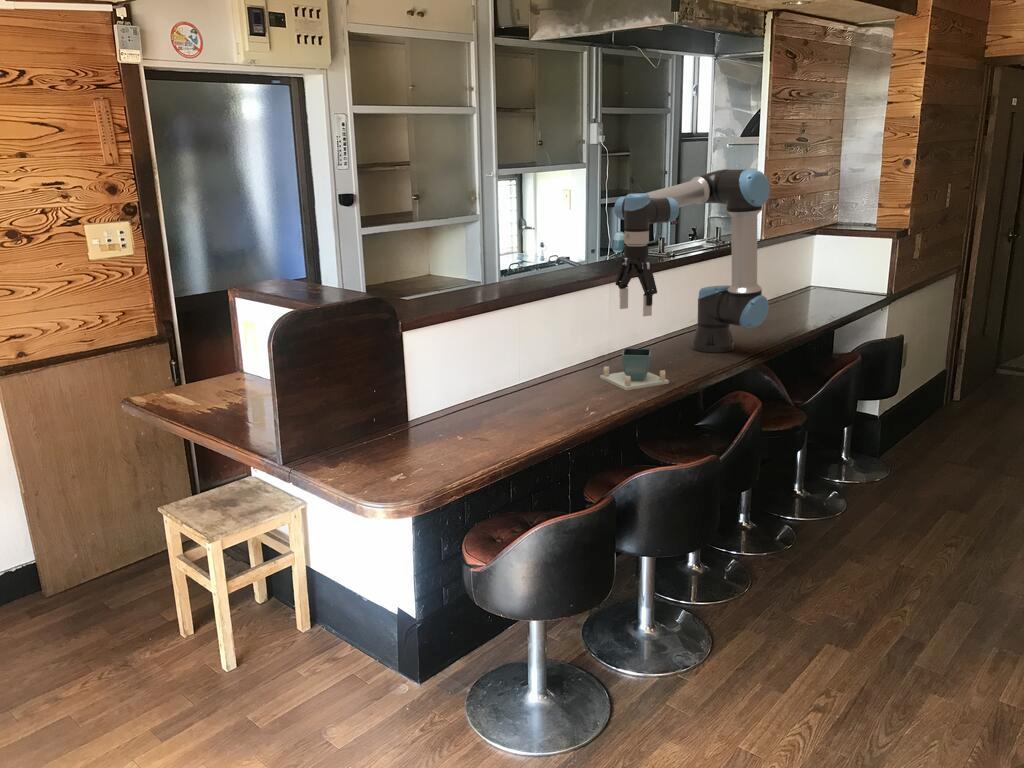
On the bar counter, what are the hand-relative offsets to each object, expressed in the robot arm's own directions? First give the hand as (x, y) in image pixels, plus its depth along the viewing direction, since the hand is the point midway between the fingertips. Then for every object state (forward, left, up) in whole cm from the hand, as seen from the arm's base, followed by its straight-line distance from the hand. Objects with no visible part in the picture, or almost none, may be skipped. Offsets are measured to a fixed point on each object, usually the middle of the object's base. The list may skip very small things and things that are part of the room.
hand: (635, 312), depth 265 cm
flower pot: (0, +1, -22) cm, 22 cm away
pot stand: (0, 0, -23) cm, 23 cm away
